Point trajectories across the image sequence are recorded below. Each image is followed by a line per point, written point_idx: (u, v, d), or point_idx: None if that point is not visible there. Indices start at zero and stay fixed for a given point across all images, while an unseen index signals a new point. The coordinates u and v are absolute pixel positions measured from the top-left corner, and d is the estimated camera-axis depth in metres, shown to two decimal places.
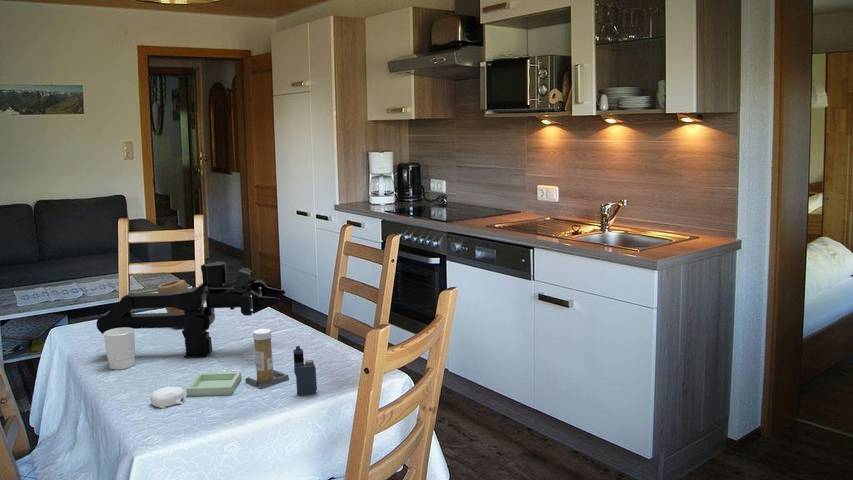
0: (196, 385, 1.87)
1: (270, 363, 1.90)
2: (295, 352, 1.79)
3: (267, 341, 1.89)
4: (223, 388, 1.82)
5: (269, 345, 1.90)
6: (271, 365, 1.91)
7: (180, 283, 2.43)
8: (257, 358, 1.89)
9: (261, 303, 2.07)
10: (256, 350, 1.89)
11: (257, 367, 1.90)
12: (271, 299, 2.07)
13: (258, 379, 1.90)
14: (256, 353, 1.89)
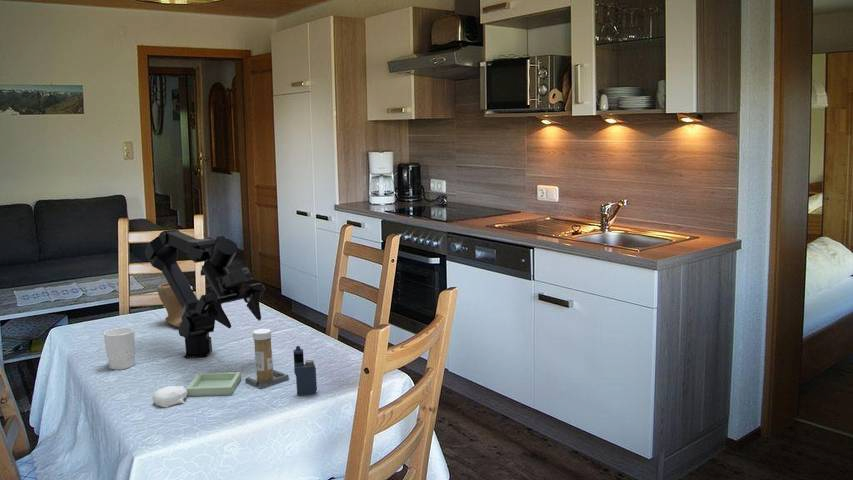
0: (196, 385, 1.87)
1: (270, 363, 1.90)
2: (295, 352, 1.79)
3: (267, 341, 1.89)
4: (223, 388, 1.82)
5: (269, 345, 1.90)
6: (271, 365, 1.91)
7: None
8: (257, 358, 1.89)
9: (217, 315, 1.93)
10: (256, 350, 1.89)
11: (257, 367, 1.90)
12: (224, 320, 1.92)
13: (258, 379, 1.90)
14: (256, 353, 1.89)
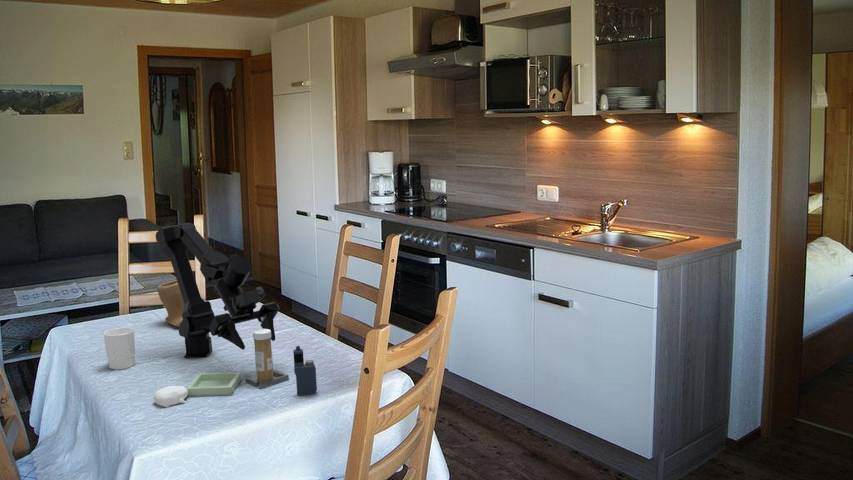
0: (196, 385, 1.87)
1: (270, 363, 1.90)
2: (295, 352, 1.79)
3: (267, 341, 1.89)
4: (223, 388, 1.82)
5: (269, 345, 1.90)
6: (271, 365, 1.91)
7: None
8: (257, 358, 1.89)
9: (230, 335, 1.90)
10: (256, 350, 1.89)
11: (257, 367, 1.90)
12: (238, 341, 1.88)
13: (258, 379, 1.90)
14: (256, 353, 1.89)
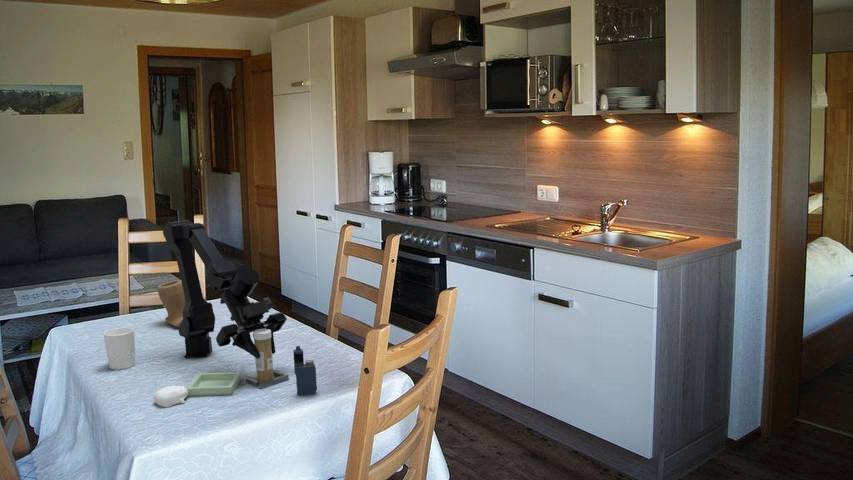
0: (196, 385, 1.87)
1: (270, 363, 1.90)
2: (295, 352, 1.79)
3: (267, 341, 1.89)
4: (223, 388, 1.82)
5: (269, 345, 1.90)
6: (271, 365, 1.91)
7: (180, 283, 2.43)
8: None
9: (245, 344, 1.90)
10: None
11: (257, 367, 1.90)
12: (253, 350, 1.88)
13: (258, 379, 1.90)
14: None
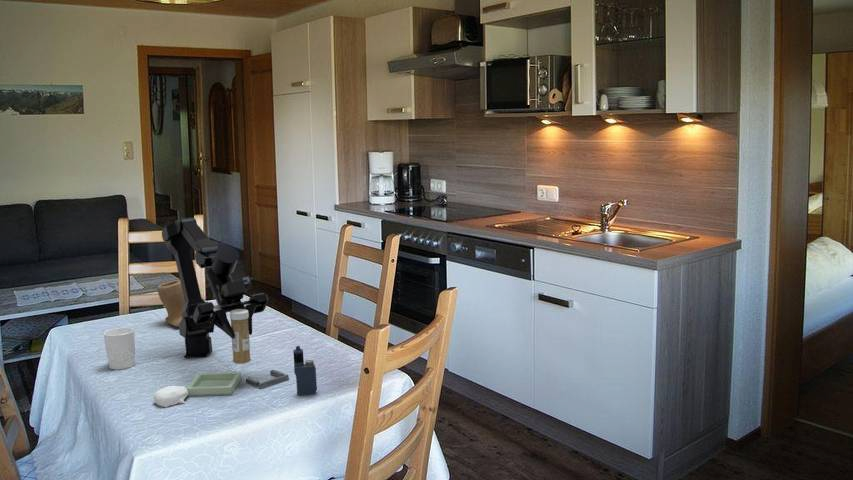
0: (196, 385, 1.87)
1: (246, 344, 1.87)
2: (295, 352, 1.79)
3: (243, 321, 1.85)
4: (223, 388, 1.82)
5: (245, 326, 1.86)
6: (247, 346, 1.87)
7: (180, 283, 2.43)
8: None
9: (222, 323, 1.87)
10: None
11: (233, 347, 1.87)
12: (228, 330, 1.85)
13: (233, 359, 1.87)
14: None
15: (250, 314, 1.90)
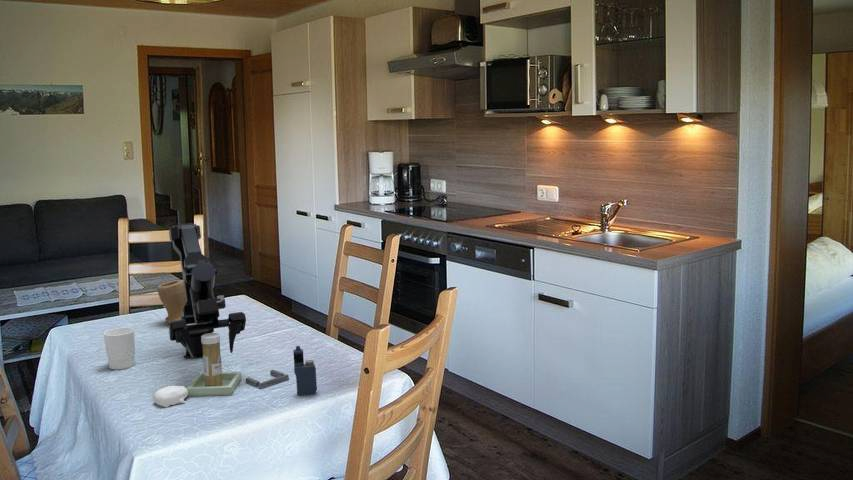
0: (196, 385, 1.87)
1: (215, 369, 1.85)
2: (295, 352, 1.79)
3: (212, 346, 1.84)
4: (223, 388, 1.82)
5: (215, 350, 1.85)
6: (217, 371, 1.86)
7: (180, 283, 2.43)
8: (203, 362, 1.86)
9: (186, 343, 1.86)
10: (203, 354, 1.86)
11: (204, 371, 1.86)
12: (189, 350, 1.84)
13: (205, 383, 1.87)
14: (203, 357, 1.86)
15: (233, 332, 1.89)
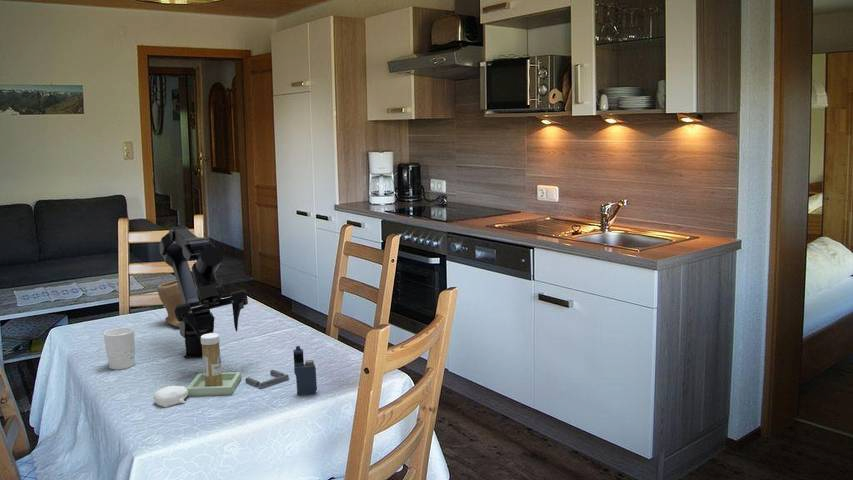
0: (196, 385, 1.87)
1: (215, 369, 1.85)
2: (295, 352, 1.79)
3: (211, 347, 1.84)
4: (223, 388, 1.82)
5: (214, 351, 1.85)
6: (217, 371, 1.86)
7: None
8: (203, 362, 1.86)
9: None
10: None
11: (204, 371, 1.86)
12: (196, 332, 1.94)
13: (205, 384, 1.87)
14: None
15: (236, 311, 1.97)
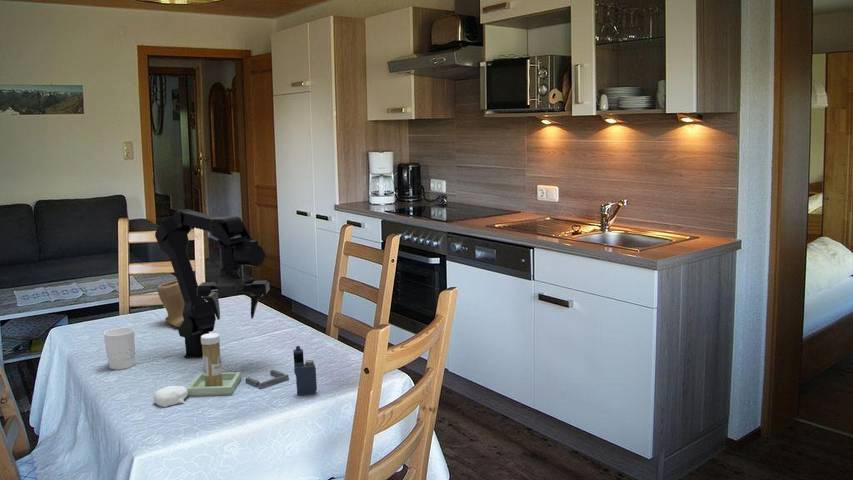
0: (196, 385, 1.87)
1: (215, 369, 1.85)
2: (295, 352, 1.79)
3: (212, 346, 1.84)
4: (223, 388, 1.82)
5: (214, 351, 1.85)
6: (217, 371, 1.86)
7: None
8: (203, 362, 1.86)
9: None
10: None
11: (204, 371, 1.86)
12: None
13: (205, 384, 1.87)
14: None
15: (254, 302, 2.01)
